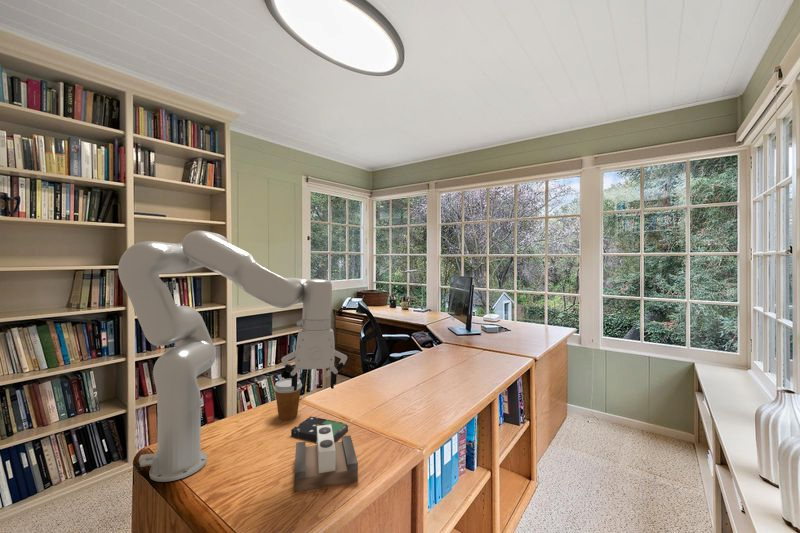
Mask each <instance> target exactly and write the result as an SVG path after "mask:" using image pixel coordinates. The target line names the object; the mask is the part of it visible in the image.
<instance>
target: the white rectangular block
mask: <svg viewBox="0 0 800 533" xmlns="http://www.w3.org/2000/svg"><path fill="white" fill-rule="evenodd" d="M316 445H317V454H318V470H319V473H324V472H331V471H335V460H336V450H335V444H334V438H333V432H332V425H331V424H330V425H322V426H317V442H316Z"/></svg>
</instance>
